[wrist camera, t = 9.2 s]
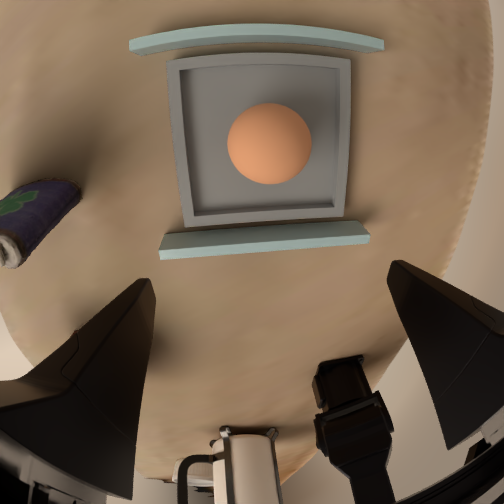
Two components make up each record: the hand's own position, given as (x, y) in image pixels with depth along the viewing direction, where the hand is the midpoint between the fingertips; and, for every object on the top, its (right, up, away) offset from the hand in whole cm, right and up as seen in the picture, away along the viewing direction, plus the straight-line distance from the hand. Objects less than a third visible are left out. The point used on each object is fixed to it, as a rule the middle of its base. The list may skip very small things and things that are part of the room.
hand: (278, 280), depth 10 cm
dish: (0, +9, +8) cm, 12 cm away
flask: (-19, +6, +9) cm, 22 cm away
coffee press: (-4, -35, +36) cm, 51 cm away
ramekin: (-16, -57, +48) cm, 76 cm away
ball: (0, +7, +6) cm, 10 cm away
